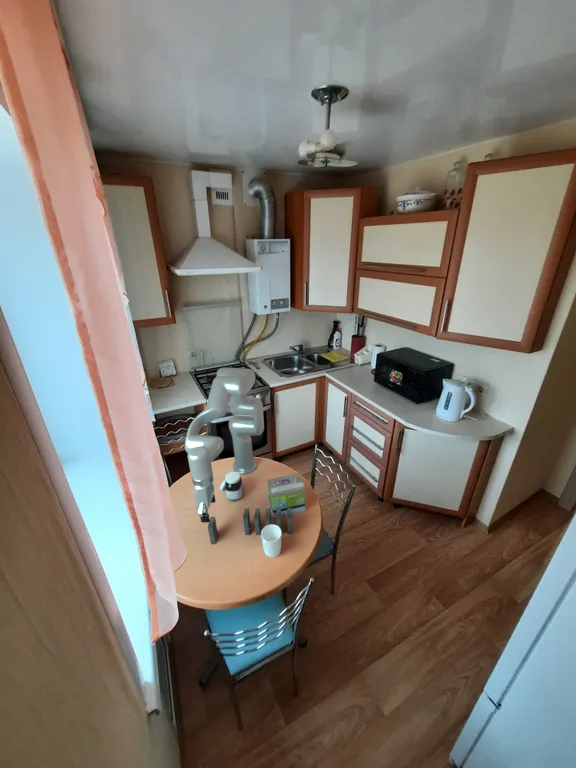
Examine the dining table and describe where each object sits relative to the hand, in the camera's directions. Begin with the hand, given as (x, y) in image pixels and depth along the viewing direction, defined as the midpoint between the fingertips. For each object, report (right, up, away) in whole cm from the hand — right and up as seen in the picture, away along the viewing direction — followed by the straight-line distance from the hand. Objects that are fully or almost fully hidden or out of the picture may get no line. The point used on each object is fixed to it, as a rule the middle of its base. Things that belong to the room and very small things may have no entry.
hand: (208, 511), depth 123 cm
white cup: (+25, -16, +2) cm, 30 cm away
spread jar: (+4, -3, +30) cm, 30 cm away
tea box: (+31, -7, +21) cm, 38 cm away
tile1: (+14, -12, +11) cm, 22 cm away
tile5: (+32, -12, +11) cm, 36 cm away
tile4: (+27, -12, +11) cm, 32 cm away
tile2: (+18, -12, +11) cm, 25 cm away
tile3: (+23, -12, +11) cm, 28 cm away
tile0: (0, -14, +8) cm, 16 cm away
